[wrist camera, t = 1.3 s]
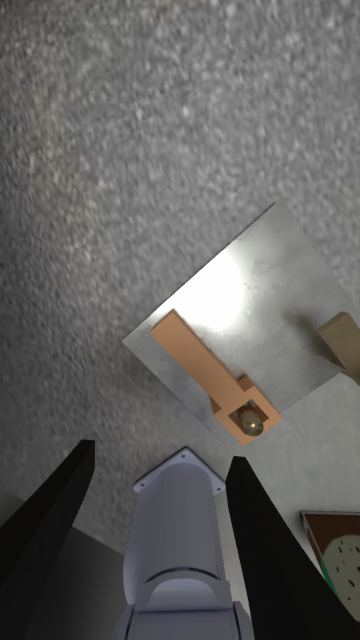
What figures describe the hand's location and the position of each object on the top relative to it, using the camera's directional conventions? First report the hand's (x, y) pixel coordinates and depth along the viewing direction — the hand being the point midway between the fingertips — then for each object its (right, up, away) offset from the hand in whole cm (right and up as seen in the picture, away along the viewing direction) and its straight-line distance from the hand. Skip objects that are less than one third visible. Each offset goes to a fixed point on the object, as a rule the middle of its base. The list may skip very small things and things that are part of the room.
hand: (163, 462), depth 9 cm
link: (+4, +2, +10) cm, 11 cm away
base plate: (+8, +5, +10) cm, 14 cm away
